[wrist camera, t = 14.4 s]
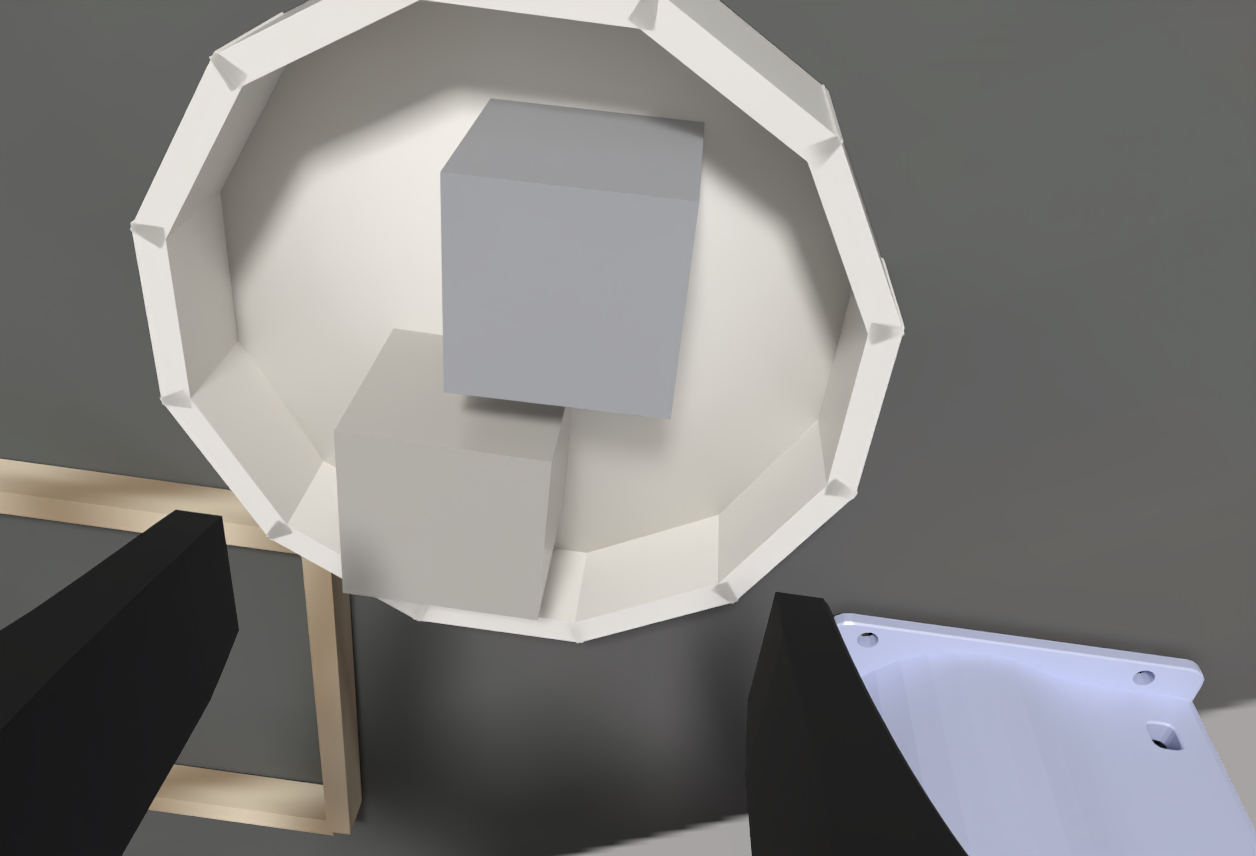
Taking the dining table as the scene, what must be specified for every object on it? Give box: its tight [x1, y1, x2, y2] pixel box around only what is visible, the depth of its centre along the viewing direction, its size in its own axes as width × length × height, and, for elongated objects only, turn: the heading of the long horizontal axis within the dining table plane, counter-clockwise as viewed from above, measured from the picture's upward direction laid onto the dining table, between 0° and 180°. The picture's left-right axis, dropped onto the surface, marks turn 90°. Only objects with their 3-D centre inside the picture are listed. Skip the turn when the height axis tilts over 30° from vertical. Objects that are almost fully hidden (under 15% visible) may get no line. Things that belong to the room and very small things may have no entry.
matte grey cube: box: [440, 98, 705, 419], centre depth 18 cm, size 4×4×4 cm
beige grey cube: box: [334, 328, 573, 620], centre depth 21 cm, size 4×4×4 cm
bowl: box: [130, 0, 905, 643], centre depth 21 cm, size 14×14×3 cm
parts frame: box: [0, 459, 362, 835], centre depth 28 cm, size 12×12×1 cm
